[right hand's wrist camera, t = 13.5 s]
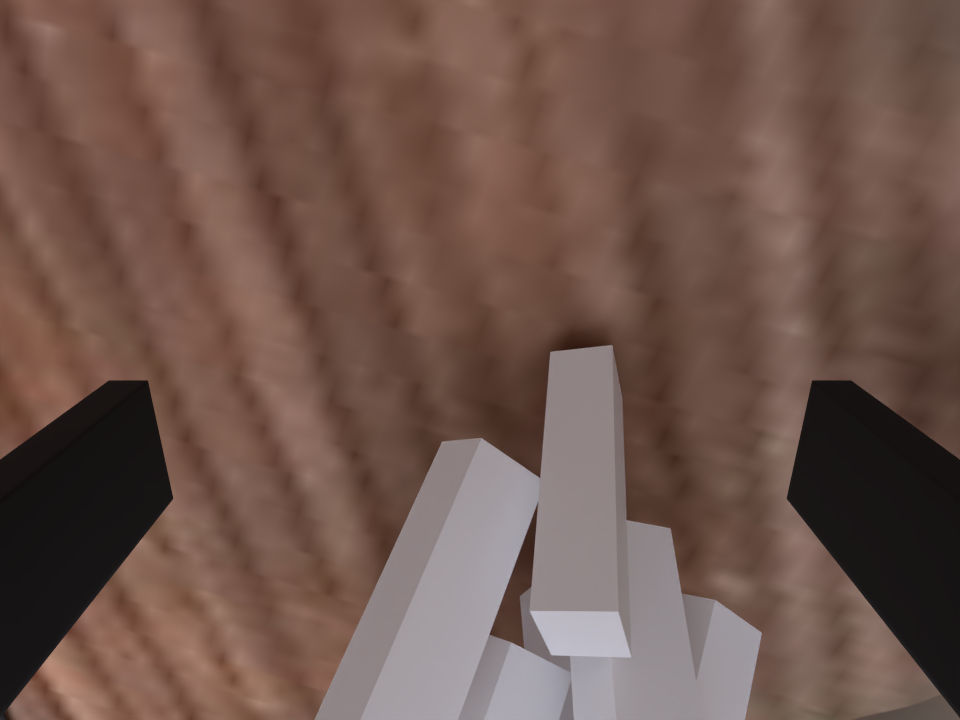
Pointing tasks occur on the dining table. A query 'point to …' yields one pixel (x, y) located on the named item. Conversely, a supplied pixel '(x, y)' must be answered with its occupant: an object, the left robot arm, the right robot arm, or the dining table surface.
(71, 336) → the dining table surface
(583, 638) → the pile of blocks
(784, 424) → the dining table surface
